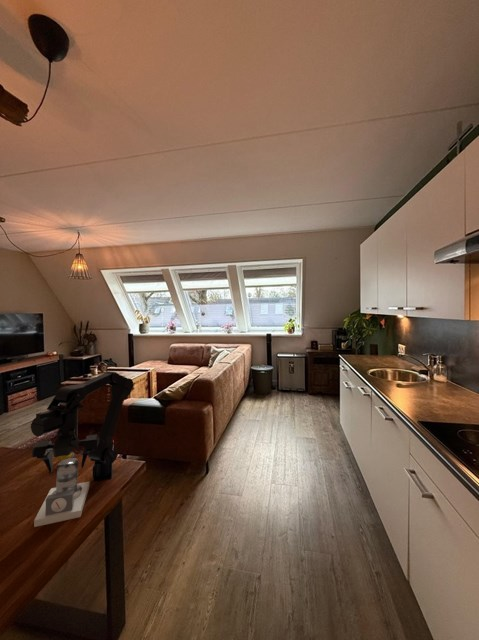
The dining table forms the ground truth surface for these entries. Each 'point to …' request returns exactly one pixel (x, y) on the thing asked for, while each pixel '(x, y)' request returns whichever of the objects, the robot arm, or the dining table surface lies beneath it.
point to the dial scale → (62, 505)
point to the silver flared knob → (67, 470)
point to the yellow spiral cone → (66, 456)
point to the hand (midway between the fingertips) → (67, 470)
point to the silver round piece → (66, 486)
